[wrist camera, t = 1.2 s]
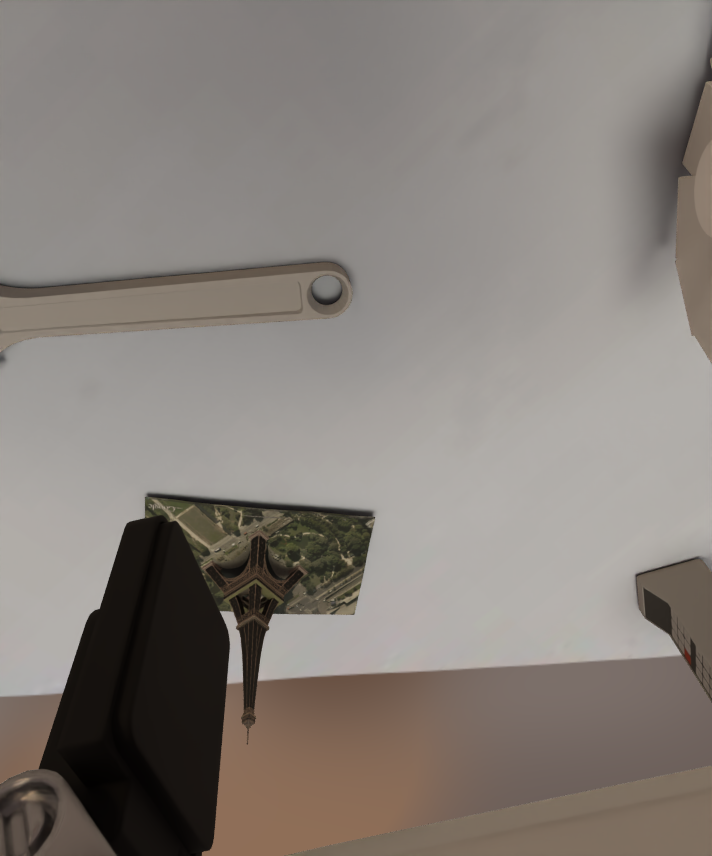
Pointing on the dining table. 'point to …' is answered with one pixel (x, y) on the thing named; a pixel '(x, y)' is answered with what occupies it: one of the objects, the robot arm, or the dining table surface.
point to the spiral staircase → (697, 225)
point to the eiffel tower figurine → (271, 566)
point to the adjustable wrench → (169, 302)
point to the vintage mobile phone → (682, 612)
